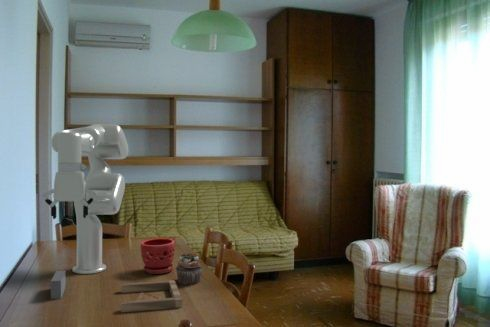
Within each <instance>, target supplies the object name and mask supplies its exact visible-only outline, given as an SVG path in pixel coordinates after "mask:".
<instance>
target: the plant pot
mask: <svg viewBox="0 0 490 327" xmlns="http://www.w3.org/2000/svg"><path fill="white" fill-rule="evenodd" d="M175 249H176V245H175V240H174V239H171V238H165V237H161V238H151V239H146V240H144V241H142V242H140V252H141V254H140V255H141V259H142V263H143V264H144V266H143V270H144V271H145V273H147V274H152V275H162V274H166V273H169V272H171V271H172V270H174V267H175V266H174V264H173V262H174V261H173V260H174V259H175Z"/></svg>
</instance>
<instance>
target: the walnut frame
mask: <svg viewBox="0 0 490 327" xmlns="http://www.w3.org/2000/svg"><path fill="white" fill-rule="evenodd" d="M154 291H169V292H170V293H169V294H170V295H171V297H167V298H166V297H165V298H159V299H151V300H138V301H136V300H128V301H121V302H120V312H121V313H131V312H143V311H154V310H167V309H168V310H169V309H177V308H178V309H180V308H183V298H182V295H181V294H180V291H179V288H178V286H177V283H176V281H175V279H174V280H173V279H172V280H159V281H146V282H143V281H142V282H129V283H121V284H120V294H126V293H142V292H144V293H145V292H154Z"/></svg>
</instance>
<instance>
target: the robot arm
mask: <svg viewBox="0 0 490 327" xmlns="http://www.w3.org/2000/svg"><path fill="white" fill-rule="evenodd" d="M51 147H52V150H53V151H54V152H56V153H57V171H56V172H55V175H54V181H53V182H54V183H53V188H52V189H50V190H47V191H46V192H44V193H43V194H42V195H41V196H42V198H43V200H44V201H45V203H46V204H47V205H48V206H50V216H51V217H52V220H55V219H56V218H57V203H58V202H73V205H74V211H75V212H74V213H75V216H76V219H75V220H76V265H74V266H73V267H72V270H71V271H72V272H73V273H75V274H80V275H87V274H88V275H89V274H96V273H102V272H104V271H105V270H106V269H107V265H106V264H104V263H103V224H102V222H101V220H100V218H99V217H98V216H97V215H101V216H102V215H103V216H104V215H115V214H118V212H119V211H120V209H121V205H122V201H123V198H124V194H125V189H126V180H125V177H124V176H123V175H122V174H121V173H115V172H113V173H112V169H111V167H110V165H109V164H108V163H107V162H106V161H105V160H124V159H126V158H127V157H128V155H129V144H128V141H127V138H126V135H125V132H124V130H123V129H122V127H121V126H120V125H118V124H116V123H115V124H114V123H113V124H111V123H95V124H91V125H87V126H82V127H77V128H69V129H63V130H59V131H57V132H55V133H54V134H53V136H52V138H51ZM82 154H87V157H88V163H89V167H90V169H89V173H88V174H87V178H86V177H85V172H84V171H83V170H85V169H87V165H86V164H83V163H82ZM52 194H53V195H52ZM50 195H52V196H53V200H51V199H50V198H49V196H50Z"/></svg>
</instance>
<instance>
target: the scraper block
mask: <svg viewBox="0 0 490 327" xmlns="http://www.w3.org/2000/svg"><path fill="white" fill-rule="evenodd" d="M66 277H67V276H66V270H56V271H55V273H54V274H53V276H52V278H51V280H50V300H59V299H60V300H61V299H62V297H63V294H64V292H65V290H66V287H67V286H66V284H67V283H66V281H67V280H66V279H67V278H66Z"/></svg>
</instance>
